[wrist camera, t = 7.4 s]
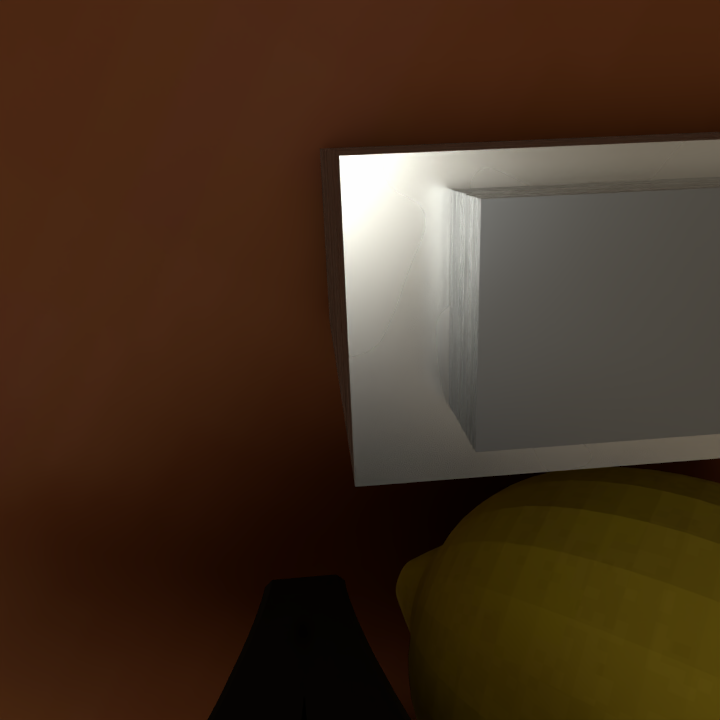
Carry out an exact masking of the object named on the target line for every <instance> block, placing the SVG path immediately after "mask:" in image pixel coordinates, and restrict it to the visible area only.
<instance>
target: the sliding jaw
mask: <svg viewBox="0 0 720 720" xmlns="http://www.w3.org/2000/svg"><path fill="white" fill-rule="evenodd" d="M320 160H321V178H322V195H323V213H324V231H325V248H326V266H327V283H328V301H329V319H330V326H331V333H332V340H333V346H334V353H335V359H336V366H337V372H338V379H339V385H340V392H341V398H342V405H343V412H344V418H345V425H346V431H347V438H348V444H349V451H350V457H351V464H352V470H353V477H354V483H355V487H359V486H372V485H385V484H398V483H410V482H423V481H436V480H449V479H461V478H474V477H487V476H499V475H512V474H525V473H538V472H550V471H563V470H576V469H589V468H601V467H614V466H627V465H640V464H652V463H665V462H678V461H691V460H703V459H716V458H720V132H705V133H682V134H658V135H634V136H611V137H587V138H563V139H540V140H516V141H492V142H469V143H445V144H422V145H398V146H374V147H351V148H327V149H320Z"/></svg>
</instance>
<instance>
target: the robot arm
mask: <svg viewBox="0 0 720 720" xmlns="http://www.w3.org/2000/svg"><path fill="white" fill-rule="evenodd" d="M208 720H411V719H410V717H409V715H408V714H407V712H406V711H405V709H404V707H403V705H402V704H401V702H400V700H399V699H398V697H397V695H396V694H395V692H394V690H393V688H392V687H391V685H390V683H389V681H388V679H387V678H386V676H385V674H384V672H383V670H382V668H381V667H380V665H379V663H378V661H377V659H376V657H375V656H374V654H373V652H372V650H371V648H370V646H369V644H368V642H367V639H366V637H365V635H364V633H363V631H362V629H361V626H360V624H359V622H358V620H357V617H356V615H355V612H354V610H353V607H352V605H351V602H350V599H349V596H348V593H347V589H346V585H345V581H344V580H343V579H342V578H341V577H339V576H338V575H326V576H314V577H303V578H291V579H280V580H272V581H271V582H270V583H269V584H268V585H267V586H266V587H265V590H264V594H263V597H262V601H261V604H260V607H259V609H258V612H257V615H256V618H255V620H254V623H253V625H252V628H251V630H250V633H249V635H248V637H247V640H246V642H245V644H244V647H243V649H242V651H241V654H240V656H239V658H238V660H237V662H236V664H235V666H234V668H233V670H232V672H231V675H230V677H229V679H228V681H227V683H226V685H225V687H224V689H223V691H222V693H221V695H220V697H219V699H218V701H217V703H216V705H215V707H214V709H213V711H212V713H211V714H210V716H209V718H208Z"/></svg>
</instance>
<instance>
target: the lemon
mask: <svg viewBox="0 0 720 720" xmlns="http://www.w3.org/2000/svg"><path fill="white" fill-rule="evenodd" d="M396 596H397V599H398V602H399V605H400V608H401V610H402V613H403V616H404V619H405V621H406V624H407V626H408V629H409V631H410V633H411V637H410V645H409V653H408V666H409V682H410V690H411V698H412V703H413V706H414V710H415V714H416V718H417V720H720V483H717V482H713V481H709V480H705V479H700V478H696V477H691V476H687V475H683V474H677V473H670V472H664V471H658V470H651V469H639V468H627V467H601V468H589V469H576V470H563V471H554V472H549V473H545V474H541V475H537V476H533V477H530V478H528V479H525V480H522V481H520V482H517V483H515V484H512V485H510V486H508V487H507V488H505V489H503V490H501V491H500V492H498V493H496V494H494V495H493V496H491V497H489V498H488V499H487V500H485V501H484V502H482V503H481V504H479V505H478V506H477V507H476V508H474V509H473V510H472V511H471V512H470V513H469V514H467V515H466V516H465V517H464V518H463V519H462V520H461V521H460V522H459V523H458V525H457V526H456V527H455V528H454V529H453V530H452V532H451V533H450V534H449V536H448V537H447V539H446V541H445V542H444V544H443V545H442V546H439V547H437V548H435V549H433V550H430V551H428V552H426V553H424V554H422V555H420V556H418V557H416V558H414V559H412V560H410V561H409V562H407V563H406V564H405V566H404V567H403V569H402V570H401V572H400V575H399V577H398V580H397V584H396Z"/></svg>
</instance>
